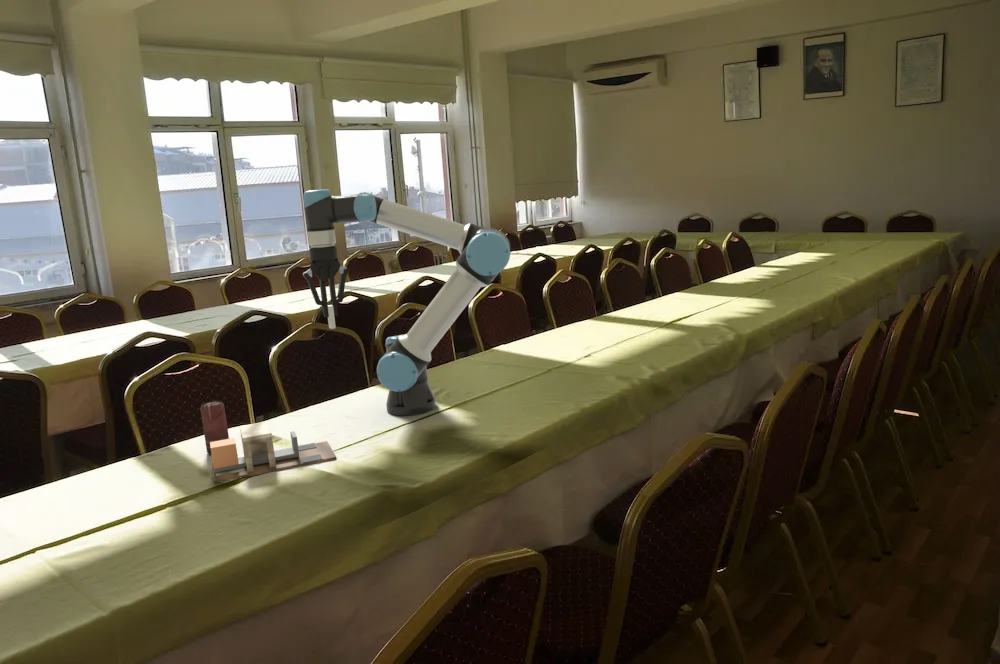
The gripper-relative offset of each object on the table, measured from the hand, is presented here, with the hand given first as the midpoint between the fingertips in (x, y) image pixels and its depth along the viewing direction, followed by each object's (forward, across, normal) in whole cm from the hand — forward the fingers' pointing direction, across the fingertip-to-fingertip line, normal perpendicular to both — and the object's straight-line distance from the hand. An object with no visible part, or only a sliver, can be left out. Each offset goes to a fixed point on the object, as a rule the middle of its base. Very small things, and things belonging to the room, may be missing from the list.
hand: (332, 327), depth 224 cm
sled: (+28, +26, +20) cm, 43 cm away
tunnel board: (+29, +22, +20) cm, 42 cm away
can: (+30, +35, +3) cm, 46 cm away
